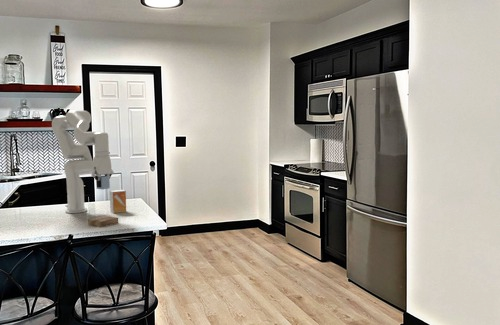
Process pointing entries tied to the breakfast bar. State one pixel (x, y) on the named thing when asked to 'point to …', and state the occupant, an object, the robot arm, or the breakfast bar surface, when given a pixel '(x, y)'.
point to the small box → (118, 201)
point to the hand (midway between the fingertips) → (103, 186)
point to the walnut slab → (103, 221)
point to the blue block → (104, 182)
